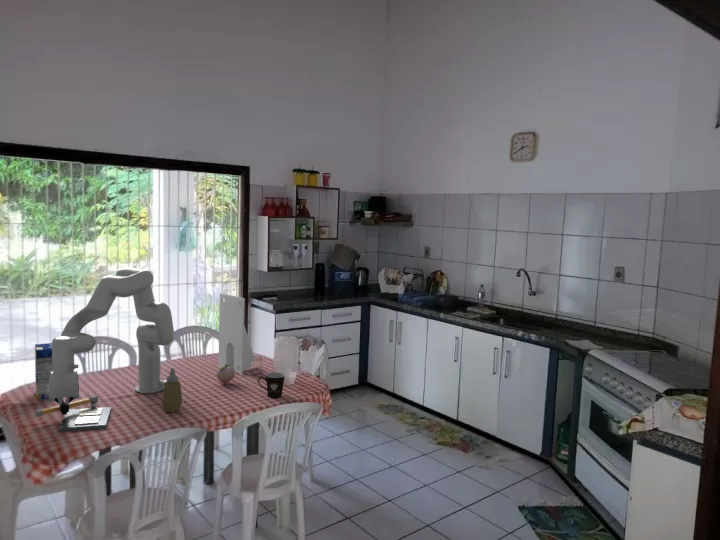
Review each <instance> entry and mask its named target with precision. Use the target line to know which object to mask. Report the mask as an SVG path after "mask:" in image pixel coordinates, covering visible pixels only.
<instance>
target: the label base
mask: <svg viewBox="0 0 720 540" xmlns="http://www.w3.org/2000/svg"><path fill="white" fill-rule="evenodd" d="M111 412H112V406H104V407H97V402H96V403H90V407H89V408H86V407H85V408H69V412H67V415H64V417H63V420H62V421H61V423H60V425H59V427H58V433H65V432H76V431H77V432H78V431H89V430H90V431H91V430H103V429H104V430H105V429H107V425H108V423H109V419H110V417H111V416H110V415H111Z"/></svg>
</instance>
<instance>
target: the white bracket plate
mask: <svg viewBox="0 0 720 540" xmlns="http://www.w3.org/2000/svg"><path fill="white" fill-rule="evenodd" d="M245 301H246V299H245V298H244V297H242V296H241V297H240V296H236V295H231V294H226V293H222V292H220V293H219V309H218V310H219V315H218V317H219V319H218V321H219V323H218V360H217V361H218V365H217V366H221V367H223V366H225V364H226V365H230V366H234V367H233V369H234V371H235V372H238V373H241V374H242V373H243V374H244V371H243V370H245V369H249V368H250V367H251V363H252V361H254V360H255V361H256V358H255V356H254V351H253V349H252V346H251V343H250V339H249V335H248V333H247V329H246V325H245V307H246V305H245V304H246V302H245Z"/></svg>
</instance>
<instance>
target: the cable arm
mask: <svg viewBox="0 0 720 540" xmlns="http://www.w3.org/2000/svg"><path fill="white" fill-rule="evenodd" d="M98 402H99V395H90V396H88V397H86V398H83V399H76V400H72V401H71V402H70V403H69V409H73V408H76V407H80V406H83V405H88V404H91V403H96V404H97V403H98ZM56 412H60V405H59V404H58V405H55V406H49V407H46V408H42V409H37V410H34V413H35V415H34V416H35V417H42V416H44V415H49V414H53V413H56Z"/></svg>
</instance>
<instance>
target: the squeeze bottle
mask: <svg viewBox="0 0 720 540" xmlns="http://www.w3.org/2000/svg"><path fill="white" fill-rule="evenodd" d="M166 380H167V382H165V383H164V385H163V386H164V389H163V390H162V391H163V392H162V400H161V403H162V407H163V410H164V412H166V413H176V412H179V411H180V408H181V406H182V403H183V397H182V386H181V385H182V384H181V382H180V381H179V376H178V375H176V372H175V368H170V371H169V375H168V376H167V377H166Z"/></svg>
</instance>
